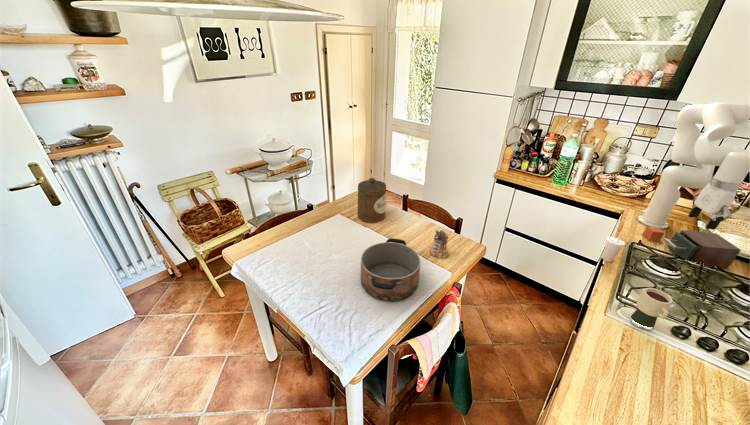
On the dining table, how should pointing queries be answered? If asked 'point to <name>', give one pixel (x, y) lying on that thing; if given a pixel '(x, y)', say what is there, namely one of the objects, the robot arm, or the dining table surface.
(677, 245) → the drawer
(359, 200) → the brown lidded canister
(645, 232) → the block
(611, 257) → the smoothie
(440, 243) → the figurine
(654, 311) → the character mug
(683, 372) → the dining table surface
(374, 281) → the cooking pot
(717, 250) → the cabinet
